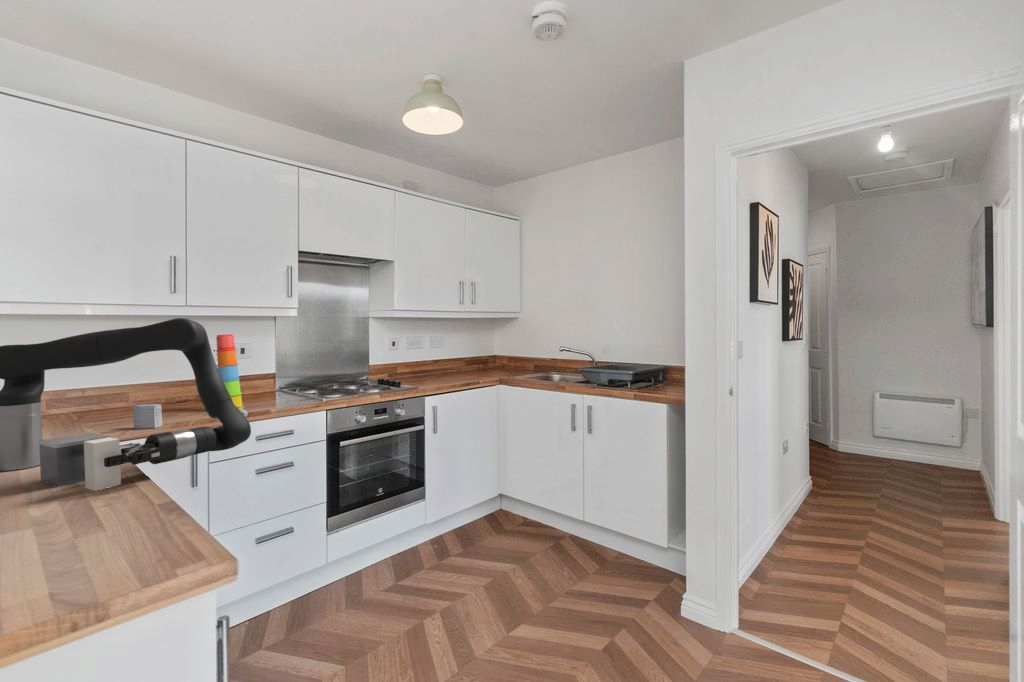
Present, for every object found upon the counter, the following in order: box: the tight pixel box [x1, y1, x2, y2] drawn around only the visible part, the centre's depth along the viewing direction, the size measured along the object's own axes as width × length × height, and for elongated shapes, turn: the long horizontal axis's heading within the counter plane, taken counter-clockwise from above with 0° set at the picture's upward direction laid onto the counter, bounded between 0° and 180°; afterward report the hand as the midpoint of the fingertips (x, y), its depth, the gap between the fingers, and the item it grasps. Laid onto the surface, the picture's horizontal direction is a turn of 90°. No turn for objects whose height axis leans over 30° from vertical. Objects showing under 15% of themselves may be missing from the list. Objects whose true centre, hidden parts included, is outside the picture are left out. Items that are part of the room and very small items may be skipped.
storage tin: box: [38, 432, 109, 487], centre depth 127 cm, size 10×10×10 cm
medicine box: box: [132, 403, 163, 430], centre depth 193 cm, size 8×4×9 cm, turn 92°
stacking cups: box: [215, 333, 245, 409], centre depth 232 cm, size 10×10×35 cm
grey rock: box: [237, 402, 249, 418], centre depth 214 cm, size 18×5×7 cm, turn 36°
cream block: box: [84, 436, 122, 492], centre depth 119 cm, size 5×5×11 cm
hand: (96, 460), depth 118 cm, fingers open, 8 cm apart
